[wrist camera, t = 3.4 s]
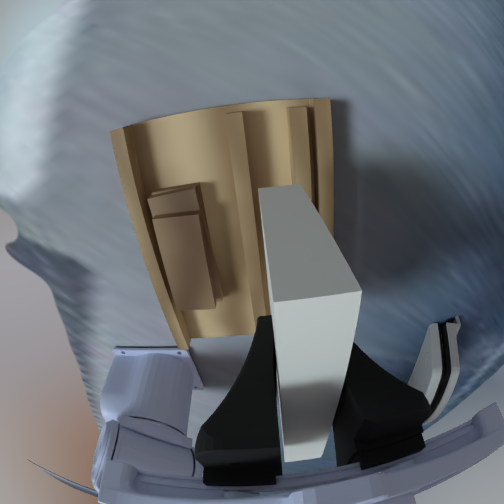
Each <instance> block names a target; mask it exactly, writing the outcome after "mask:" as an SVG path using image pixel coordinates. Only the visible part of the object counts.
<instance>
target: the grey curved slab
mask: <svg viewBox="0 0 504 504" xmlns="http://www.w3.org/2000/svg"><path fill="white" fill-rule="evenodd" d="M460 326H461V324H460V320H459V316H456V317H455V319H454V322H453V323H446V325H445V326H443V328H442V331H441V328H440V326H438V323H433V324H431V325H429V327H428V330H427V333H426V336H425V339H424V342H423V345H422V348H421V351H420V353H419V356H418V359H417V361H416V364H415V367H414V369H413V372H412V374H411V377H410V379H409V381H408V384H407V385H409V386H411V387H413V388H415V389H417V390H419V391H421V392H423V393H424V395H425V397H426V398H427V400H428V402H429V404H430V407H431V413H430V415H429V417H428V418H427V419H426V420H425V421H424V423H423V424H425V423H429V422H431V421H433V420H434V419H435V418H436V417H437V416H438V415H439V414H440V413H441V412H442V410H443V409H444V407H445V406H446V404H447V402H448V400H449V398H450V396H451V394H452V392H453V390H454V387H455V385H456V382H457V379H458V376H459V373H460V363H459V354H458V346H457V339H456V336H457V334H458V331H459V329H460Z"/></svg>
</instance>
